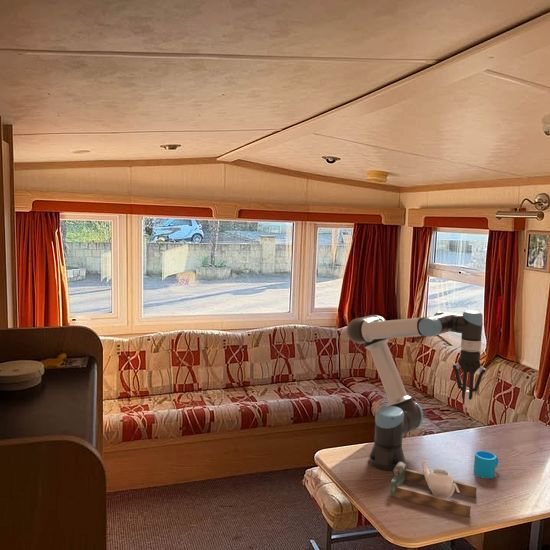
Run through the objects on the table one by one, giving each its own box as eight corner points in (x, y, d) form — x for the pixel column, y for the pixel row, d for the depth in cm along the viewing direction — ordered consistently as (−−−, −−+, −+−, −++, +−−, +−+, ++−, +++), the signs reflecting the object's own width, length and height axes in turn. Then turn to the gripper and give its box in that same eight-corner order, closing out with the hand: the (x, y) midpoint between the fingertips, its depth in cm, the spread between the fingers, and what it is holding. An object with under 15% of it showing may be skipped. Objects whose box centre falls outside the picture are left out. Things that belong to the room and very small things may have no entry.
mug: (485, 480, 217) (486, 461, 216) (469, 471, 224) (470, 453, 223) (505, 474, 223) (506, 455, 222) (488, 466, 230) (490, 447, 229)
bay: (388, 495, 203) (389, 472, 202) (400, 476, 218) (401, 455, 217) (469, 517, 190) (471, 493, 189) (476, 495, 205) (477, 473, 204)
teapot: (448, 511, 193) (449, 487, 192) (411, 486, 211) (412, 463, 210) (468, 506, 197) (469, 482, 196) (430, 481, 215) (431, 459, 214)
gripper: (452, 349, 215) (448, 406, 217) (486, 354, 209) (482, 412, 211) (455, 345, 221) (451, 400, 224) (488, 350, 215) (484, 406, 218)
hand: (466, 406), depth 218 cm, fingers closed
